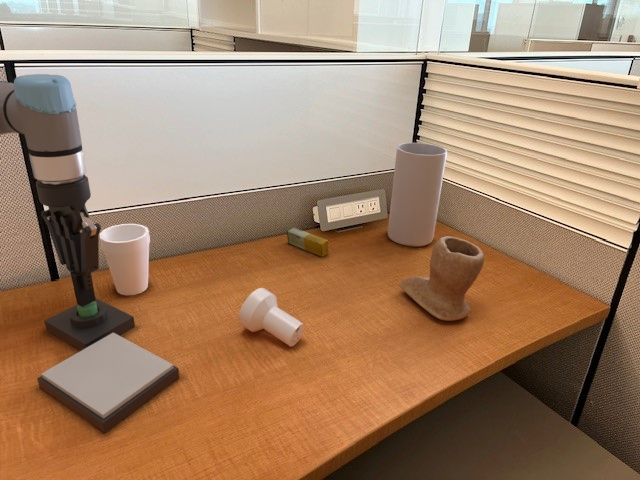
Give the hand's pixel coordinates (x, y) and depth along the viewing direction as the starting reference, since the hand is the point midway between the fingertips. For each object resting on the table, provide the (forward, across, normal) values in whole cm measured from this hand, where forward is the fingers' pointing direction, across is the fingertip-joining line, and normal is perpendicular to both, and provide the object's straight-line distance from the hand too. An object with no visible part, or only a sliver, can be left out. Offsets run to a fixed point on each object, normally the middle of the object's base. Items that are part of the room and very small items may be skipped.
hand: (86, 302), depth 87 cm
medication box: (+6, -14, -52) cm, 54 cm away
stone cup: (+6, -51, -47) cm, 70 cm away
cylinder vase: (+6, -33, -75) cm, 82 cm away
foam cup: (+6, +6, -14) cm, 16 cm away
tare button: (+2, 0, 0) cm, 2 cm away
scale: (+6, -15, +7) cm, 18 cm away
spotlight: (+6, -28, -18) cm, 34 cm away
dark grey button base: (+6, 0, 0) cm, 6 cm away
